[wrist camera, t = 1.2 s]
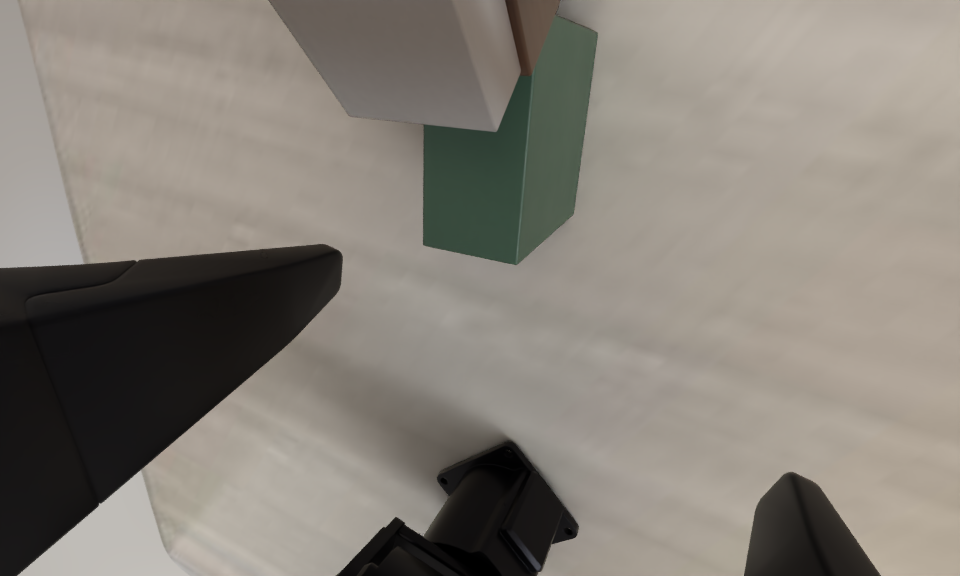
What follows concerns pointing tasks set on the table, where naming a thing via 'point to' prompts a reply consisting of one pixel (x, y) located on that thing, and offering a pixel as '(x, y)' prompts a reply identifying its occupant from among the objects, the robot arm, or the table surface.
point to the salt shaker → (422, 55)
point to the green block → (514, 159)
